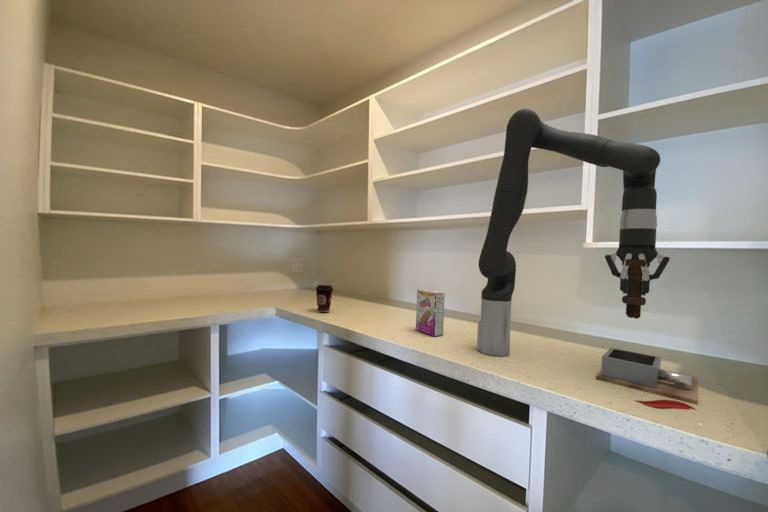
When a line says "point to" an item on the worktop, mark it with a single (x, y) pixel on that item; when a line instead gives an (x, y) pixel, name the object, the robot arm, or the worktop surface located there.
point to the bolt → (634, 288)
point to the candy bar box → (430, 312)
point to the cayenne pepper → (666, 404)
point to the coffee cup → (324, 297)
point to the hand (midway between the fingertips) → (634, 293)
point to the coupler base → (660, 388)
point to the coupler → (640, 369)
